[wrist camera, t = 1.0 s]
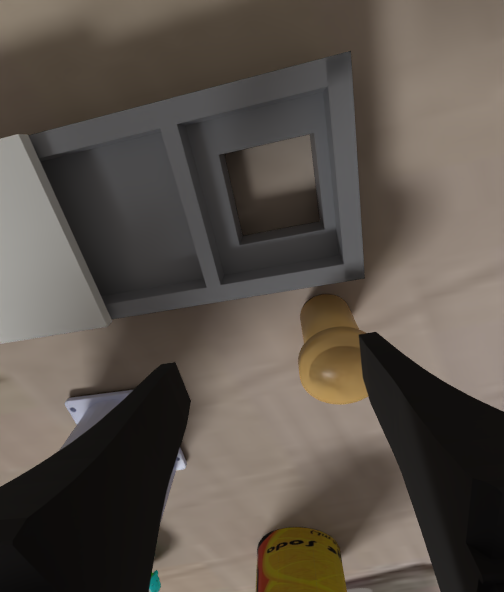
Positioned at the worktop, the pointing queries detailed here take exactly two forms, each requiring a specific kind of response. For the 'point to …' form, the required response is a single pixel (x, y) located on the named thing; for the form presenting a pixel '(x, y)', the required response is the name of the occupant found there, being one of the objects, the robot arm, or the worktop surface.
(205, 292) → the housing
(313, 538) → the yellow tin can
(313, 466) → the worktop surface
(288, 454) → the worktop surface
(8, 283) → the lid
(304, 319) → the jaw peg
